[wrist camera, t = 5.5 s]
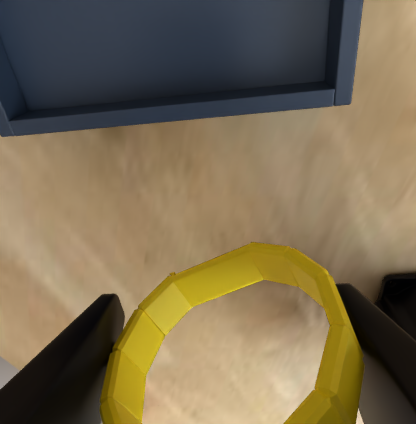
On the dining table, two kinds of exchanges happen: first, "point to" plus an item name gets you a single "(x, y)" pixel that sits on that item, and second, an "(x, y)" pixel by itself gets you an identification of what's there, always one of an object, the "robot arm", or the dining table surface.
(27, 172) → the dining table surface
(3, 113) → the tray
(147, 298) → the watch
